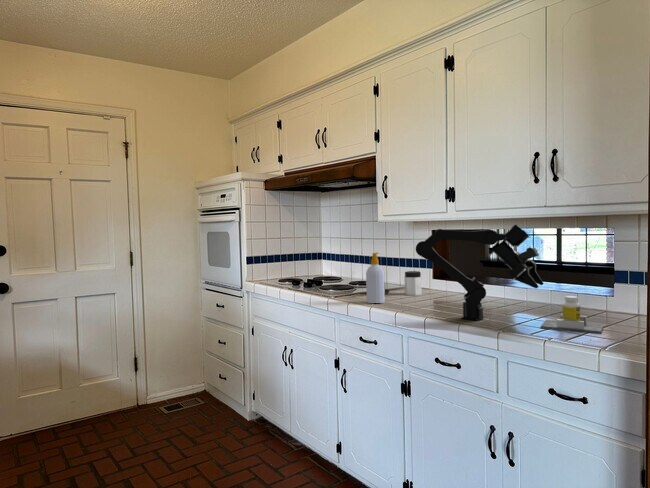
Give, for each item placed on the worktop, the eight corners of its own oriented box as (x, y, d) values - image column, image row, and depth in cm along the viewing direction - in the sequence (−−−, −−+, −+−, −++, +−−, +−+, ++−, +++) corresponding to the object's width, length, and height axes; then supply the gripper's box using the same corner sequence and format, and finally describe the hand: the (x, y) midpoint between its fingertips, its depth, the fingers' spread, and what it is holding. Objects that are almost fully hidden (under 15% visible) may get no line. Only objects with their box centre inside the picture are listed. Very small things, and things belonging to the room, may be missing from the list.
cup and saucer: (393, 293, 252) (393, 282, 251) (379, 296, 243) (379, 284, 243) (376, 291, 260) (376, 280, 260) (362, 294, 252) (362, 283, 251)
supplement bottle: (579, 327, 158) (579, 298, 157) (561, 325, 161) (561, 297, 161) (581, 324, 162) (581, 296, 162) (563, 322, 165) (563, 295, 165)
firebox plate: (540, 328, 162) (540, 318, 161) (546, 321, 172) (546, 312, 171) (600, 333, 152) (600, 323, 151) (603, 326, 162) (603, 317, 161)
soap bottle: (387, 301, 226) (386, 252, 225) (381, 304, 217) (380, 253, 217) (370, 300, 230) (369, 252, 229) (364, 303, 221) (363, 253, 220)
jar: (412, 296, 240) (412, 273, 239) (401, 294, 246) (401, 272, 246) (424, 294, 245) (424, 271, 244) (413, 292, 251) (412, 270, 251)
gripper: (518, 241, 165) (552, 273, 159) (529, 239, 180) (561, 268, 174) (495, 263, 170) (528, 295, 164) (508, 259, 185) (539, 288, 179)
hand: (540, 285), depth 170 cm, fingers open, 9 cm apart
